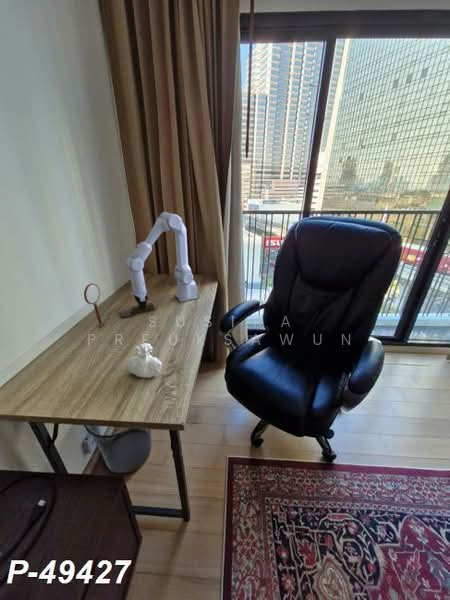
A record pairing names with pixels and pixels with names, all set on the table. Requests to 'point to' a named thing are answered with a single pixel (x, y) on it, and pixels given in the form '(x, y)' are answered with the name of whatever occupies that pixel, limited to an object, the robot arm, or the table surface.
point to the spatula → (137, 310)
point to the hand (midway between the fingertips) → (142, 308)
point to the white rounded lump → (144, 362)
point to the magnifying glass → (93, 298)
